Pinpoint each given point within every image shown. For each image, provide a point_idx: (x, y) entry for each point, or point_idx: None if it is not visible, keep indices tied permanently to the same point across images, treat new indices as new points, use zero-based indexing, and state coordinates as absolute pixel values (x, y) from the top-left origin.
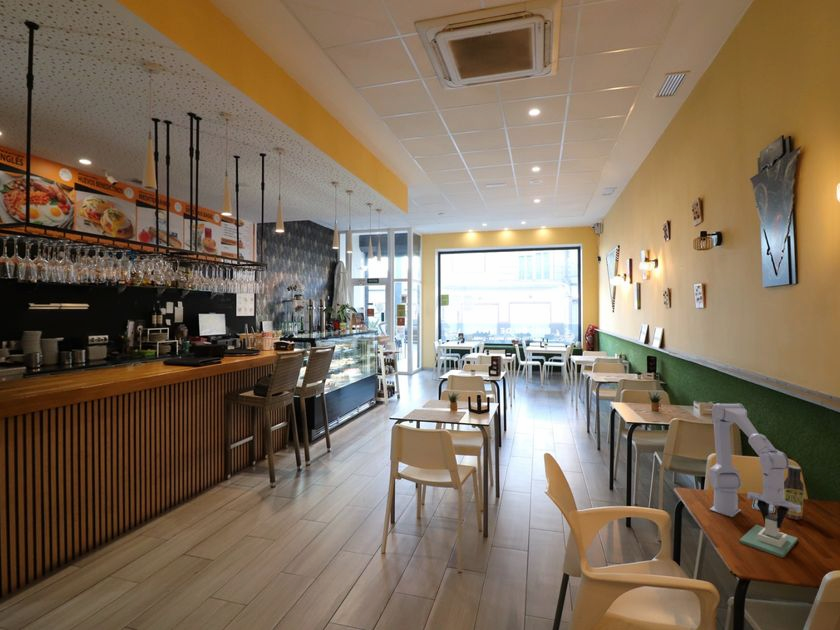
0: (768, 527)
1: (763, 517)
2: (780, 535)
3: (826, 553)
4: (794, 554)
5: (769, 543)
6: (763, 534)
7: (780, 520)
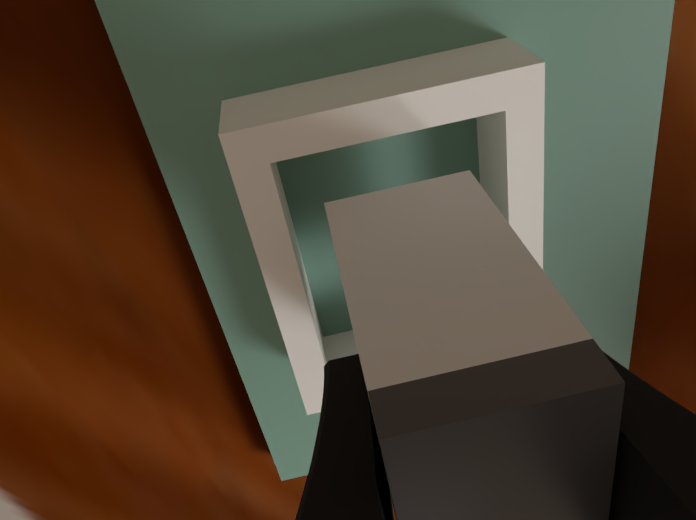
0: (459, 243)
1: (629, 377)
2: None
3: (18, 459)
4: (89, 149)
5: (357, 73)
6: None
7: (318, 491)
